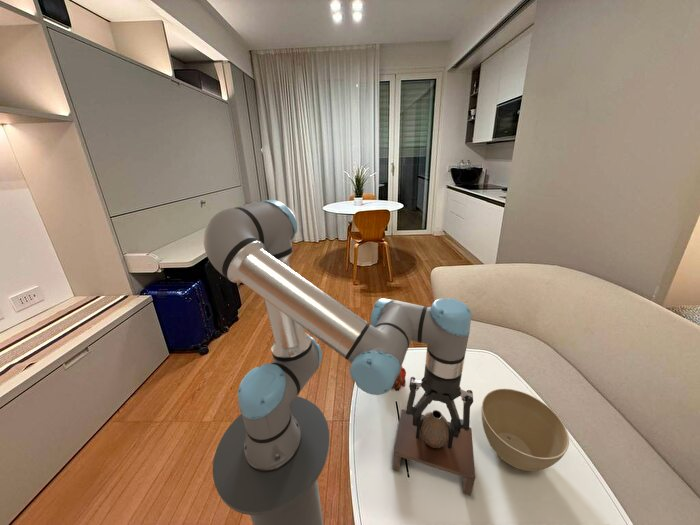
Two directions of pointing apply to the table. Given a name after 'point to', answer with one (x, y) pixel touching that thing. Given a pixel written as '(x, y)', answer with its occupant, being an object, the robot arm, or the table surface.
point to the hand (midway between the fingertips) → (433, 437)
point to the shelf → (436, 452)
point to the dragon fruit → (400, 380)
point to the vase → (435, 429)
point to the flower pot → (523, 430)
